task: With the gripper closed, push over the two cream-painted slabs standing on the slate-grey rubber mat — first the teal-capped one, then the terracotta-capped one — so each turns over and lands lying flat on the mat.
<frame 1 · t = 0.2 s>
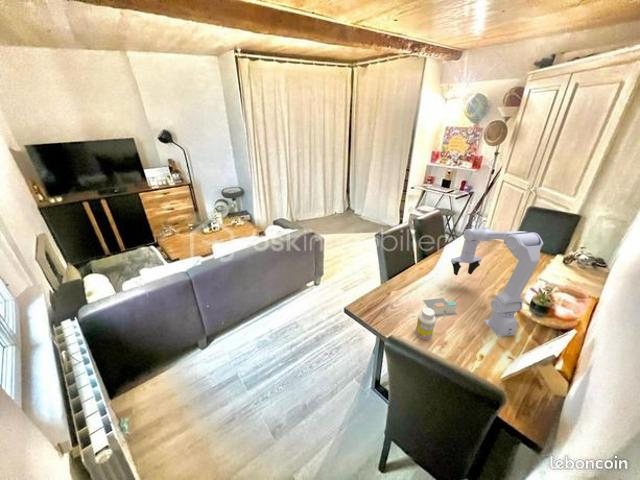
hand: (462, 273, 128), 10 cm above the table, fingers open, 7 cm apart
supplement bottle: (423, 334, 106), on the table
mat: (439, 307, 120), on the table
slab a: (449, 311, 117), resting on mat
slab b: (437, 312, 116), resting on mat
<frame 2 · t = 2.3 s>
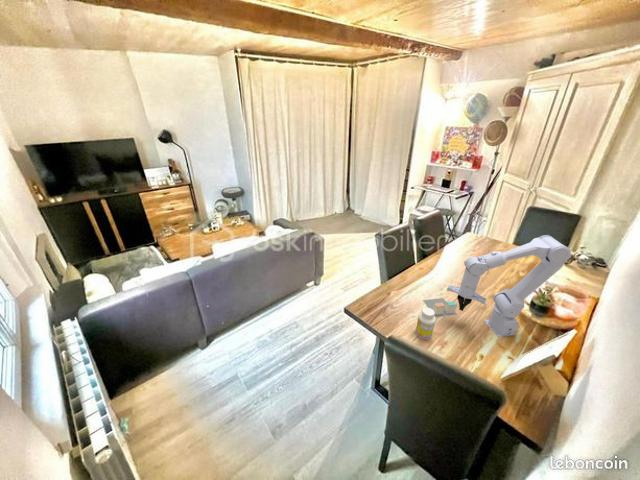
hand: (461, 309, 108), 8 cm above the table, fingers closed
nothing on the table moved.
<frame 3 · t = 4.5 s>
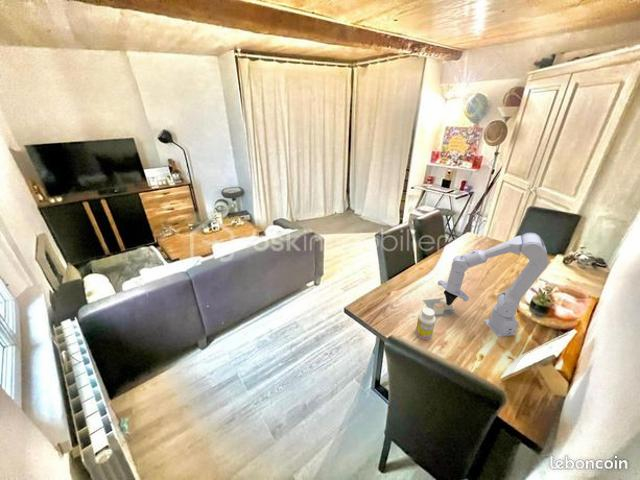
hand: (448, 304, 117), 4 cm above the table, fingers closed
slab a: (448, 307, 118), point 2 cm above the table, tilted 90°, touching mat
everything else where it was.
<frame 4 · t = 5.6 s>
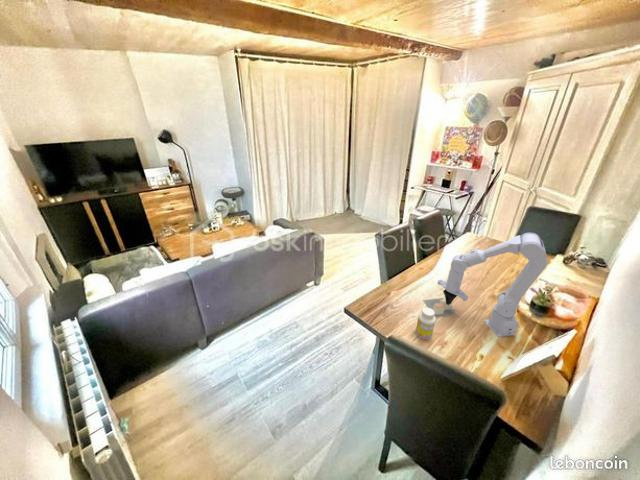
hand: (448, 303, 117), 4 cm above the table, fingers closed
nothing on the table moved.
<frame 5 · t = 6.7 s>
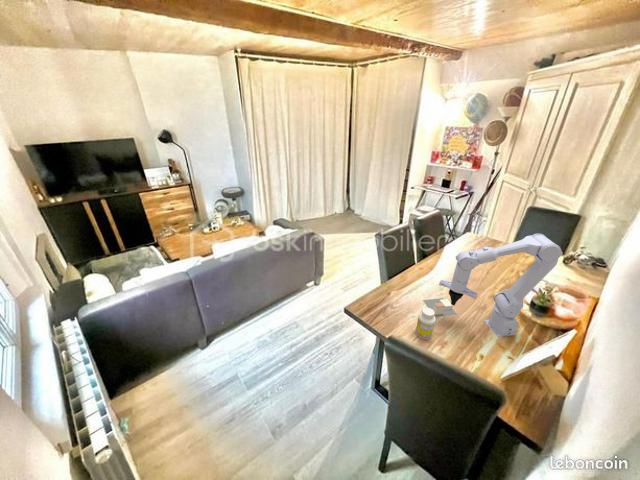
hand: (453, 304, 108), 10 cm above the table, fingers closed
nothing on the table moved.
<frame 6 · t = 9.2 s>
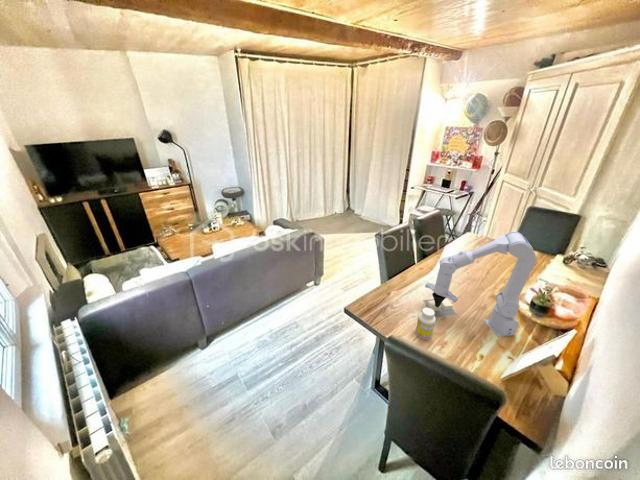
hand: (437, 305, 116), 4 cm above the table, fingers closed
slab b: (436, 309, 117), point 2 cm above the table, tilted 90°, touching mat
everything else where it was.
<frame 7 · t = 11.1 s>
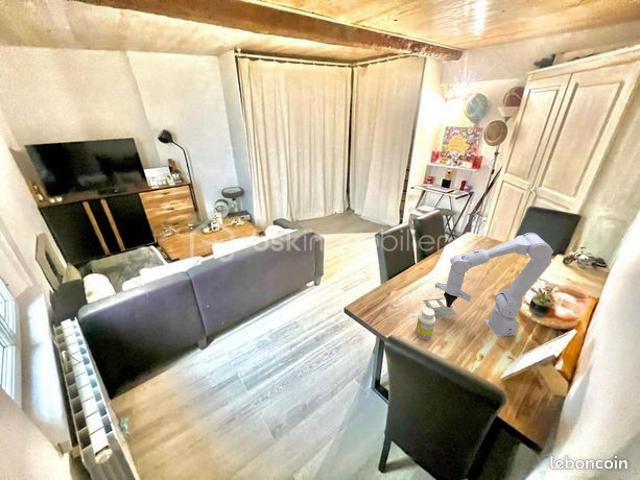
hand: (448, 306, 111), 7 cm above the table, fingers closed
nothing on the table moved.
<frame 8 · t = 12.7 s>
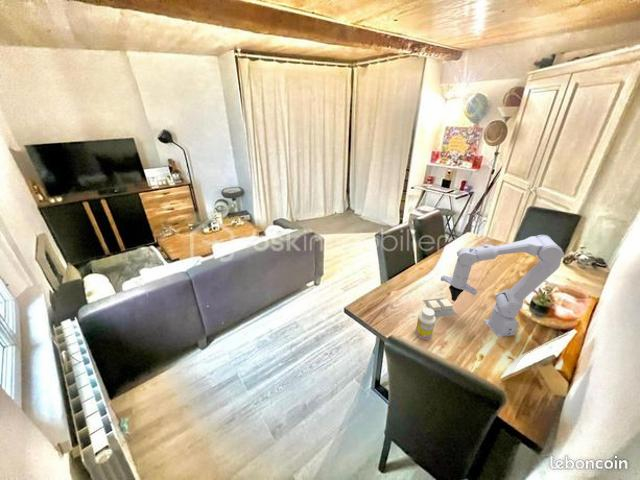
hand: (454, 299, 110), 10 cm above the table, fingers closed
nothing on the table moved.
at the end: slab a tilted 90°; slab b tilted 90°; slab a inside the target area (4.3 cm from its centre), point 1.6 cm above the table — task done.
